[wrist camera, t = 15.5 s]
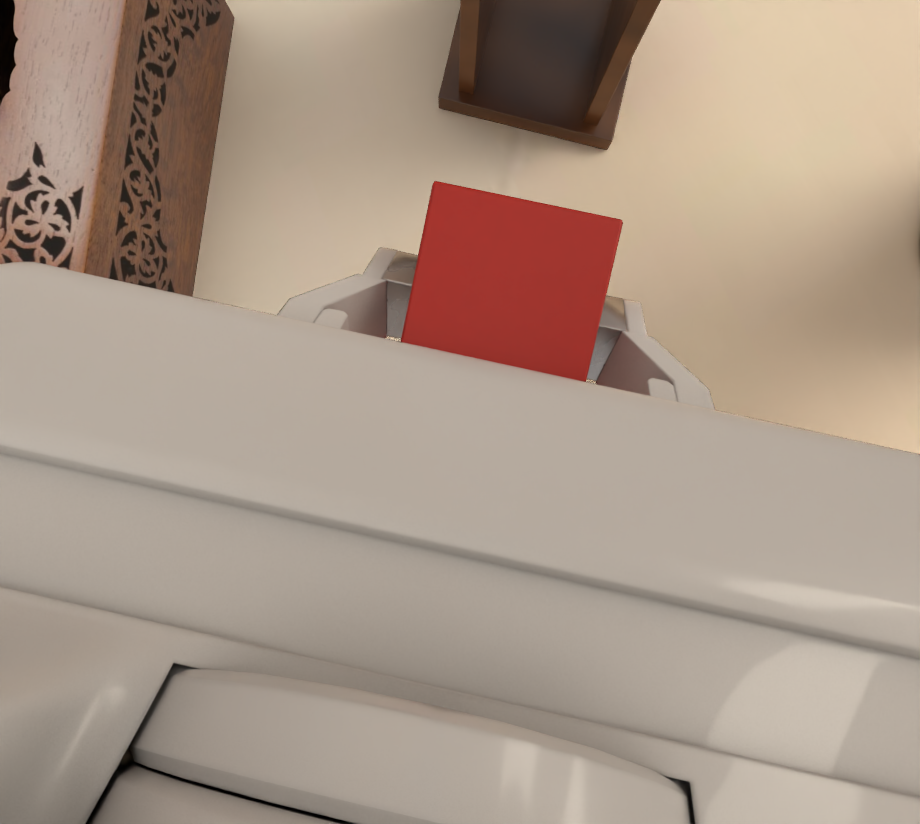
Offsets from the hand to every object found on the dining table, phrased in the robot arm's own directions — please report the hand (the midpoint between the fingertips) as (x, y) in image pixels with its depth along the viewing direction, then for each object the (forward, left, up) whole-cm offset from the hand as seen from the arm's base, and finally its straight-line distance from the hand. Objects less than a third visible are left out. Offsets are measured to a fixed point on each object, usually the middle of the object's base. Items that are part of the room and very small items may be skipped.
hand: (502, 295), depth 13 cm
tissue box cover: (+29, -15, -23) cm, 40 cm away
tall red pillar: (0, +4, -8) cm, 9 cm away
